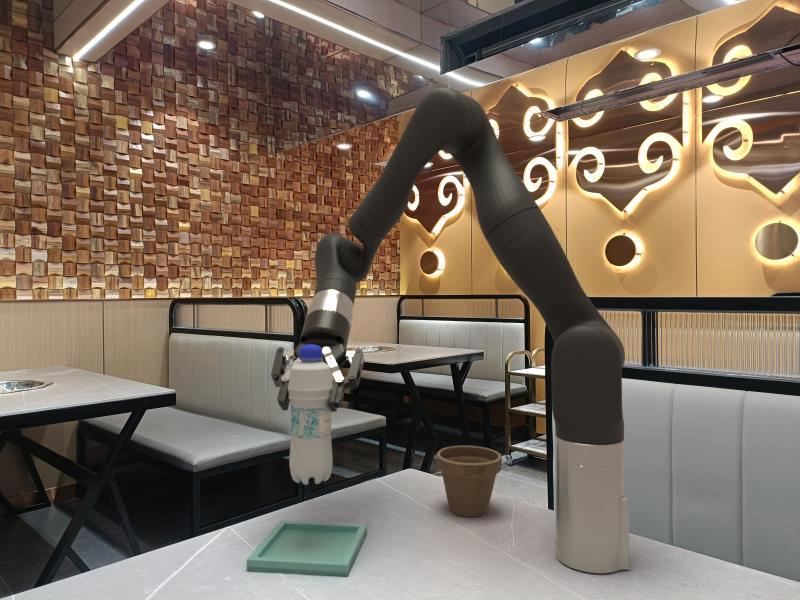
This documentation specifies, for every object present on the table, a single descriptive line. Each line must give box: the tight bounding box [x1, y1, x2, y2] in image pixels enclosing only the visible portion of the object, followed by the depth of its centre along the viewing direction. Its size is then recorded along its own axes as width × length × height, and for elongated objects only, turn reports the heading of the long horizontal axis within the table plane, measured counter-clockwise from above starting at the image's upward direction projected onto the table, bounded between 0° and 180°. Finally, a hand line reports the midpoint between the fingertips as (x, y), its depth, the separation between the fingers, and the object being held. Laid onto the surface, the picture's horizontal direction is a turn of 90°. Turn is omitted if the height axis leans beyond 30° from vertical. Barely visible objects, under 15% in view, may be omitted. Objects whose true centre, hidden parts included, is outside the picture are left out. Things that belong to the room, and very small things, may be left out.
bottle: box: [288, 344, 334, 486], centre depth 83 cm, size 7×7×20 cm
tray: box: [246, 520, 368, 577], centre depth 83 cm, size 14×14×2 cm
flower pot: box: [436, 445, 503, 518], centre depth 99 cm, size 12×11×10 cm
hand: (308, 407), depth 82 cm, fingers closed on bottle, 6 cm apart
